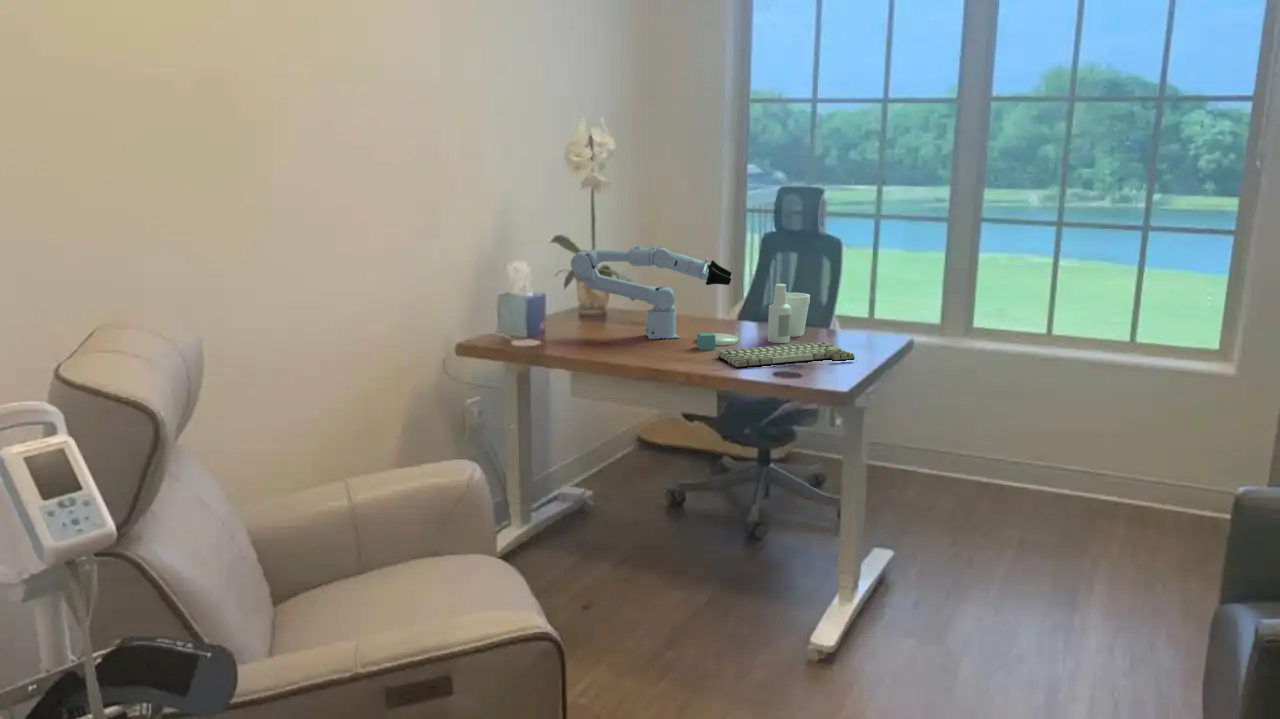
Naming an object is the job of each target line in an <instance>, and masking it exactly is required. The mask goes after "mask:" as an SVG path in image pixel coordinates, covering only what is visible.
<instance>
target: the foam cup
mask: <svg viewBox="0 0 1280 719" xmlns="http://www.w3.org/2000/svg"><path fill="white" fill-rule="evenodd" d="M786 298H787V304H788V305H789V306H790V307H791V317H790V338H791V337H793V338H795V337H796V338H797V337H798V336H799V337H803V336H804V334H805V329H806V324H807V323H806V322H807V316H808V312H809V305H810V303H811V302H810V300H811V294H808V293H803V292H787V296H786ZM802 335H803V336H802Z"/></svg>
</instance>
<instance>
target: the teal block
mask: <svg viewBox="0 0 1280 719" xmlns="http://www.w3.org/2000/svg"><path fill="white" fill-rule="evenodd" d="M696 348H698V349H699V350H700V351H712V350H713V351H714V350H715V351H716V346H715V335H714V334H713V332H711V331H710V332H697V333H696Z"/></svg>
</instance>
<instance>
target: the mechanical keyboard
mask: <svg viewBox="0 0 1280 719" xmlns="http://www.w3.org/2000/svg"><path fill="white" fill-rule="evenodd" d="M717 356H718V357H716V359H717V360H719V361H720V362H722V363H724V364H725V365H728V366H732V367H733V368H736V369H748V368H747V367H762V366H771V365H785V364H795V363H808V362H812V361H823V360H832V361H846V360H854V359H855V360H856V357H855V354H854V353H853V352H851V351H846V349H842V348H840V347H838V346H836V345H834V344H833V343H829V342H828V341H823V342H815V343H813V342H811V343H801V344H799V343H797V344H795V343H794V344H793V345H792V344H786V345H784V344H783V345H778V346H777V345H772V346H763V347H762V346H760V347H758V346H757V347H749V348H746V347H745V348H741V349H740V348H734V349H731V348H729V349H726V350H724V349H722V350H721V349H720V350H718V352H717Z"/></svg>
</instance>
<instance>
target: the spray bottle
mask: <svg viewBox="0 0 1280 719" xmlns="http://www.w3.org/2000/svg"><path fill="white" fill-rule="evenodd" d="M786 287H787V284H785V283H776V284H775V285H774V290H773V301H772V302H773V303H772V304H769V306H768V321H767V322H768V323H767V326H768V327H767V341H768V342H769V343H771V344H786V343H789V342H790V341H791V339H790V338H791V336H790V317H791V307H790V306H789V305H788V304H787V298H786V296H787V293H788V291H787V288H786Z"/></svg>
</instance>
